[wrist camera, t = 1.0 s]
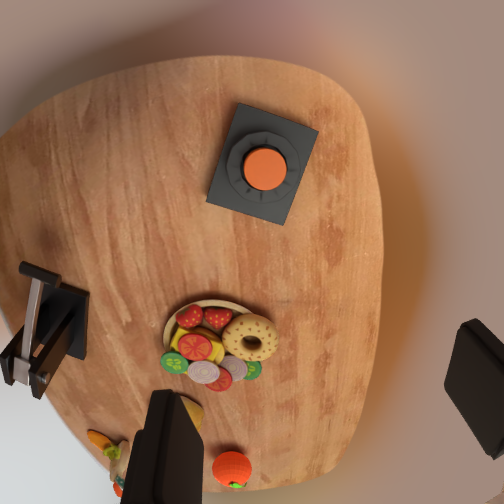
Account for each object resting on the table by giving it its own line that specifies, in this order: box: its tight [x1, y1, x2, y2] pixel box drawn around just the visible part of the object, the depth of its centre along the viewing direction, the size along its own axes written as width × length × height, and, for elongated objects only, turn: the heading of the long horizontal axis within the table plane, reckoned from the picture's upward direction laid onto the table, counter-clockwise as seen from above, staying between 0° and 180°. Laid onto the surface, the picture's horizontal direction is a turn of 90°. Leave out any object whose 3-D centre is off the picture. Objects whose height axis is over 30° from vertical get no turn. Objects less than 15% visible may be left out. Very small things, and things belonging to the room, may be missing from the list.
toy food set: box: [160, 300, 279, 392], centre depth 38 cm, size 13×13×3 cm
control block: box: [206, 103, 318, 226], centre depth 30 cm, size 10×8×4 cm
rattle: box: [87, 431, 130, 497], centre depth 42 cm, size 8×8×12 cm
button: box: [244, 148, 287, 190], centre depth 27 cm, size 4×4×2 cm
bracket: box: [0, 283, 90, 400], centre depth 31 cm, size 11×8×13 cm
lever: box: [13, 261, 62, 386], centre depth 27 cm, size 13×5×2 cm, turn 163°
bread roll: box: [180, 396, 204, 432], centre depth 42 cm, size 8×9×4 cm
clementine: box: [212, 451, 252, 488], centre depth 46 cm, size 8×7×7 cm
